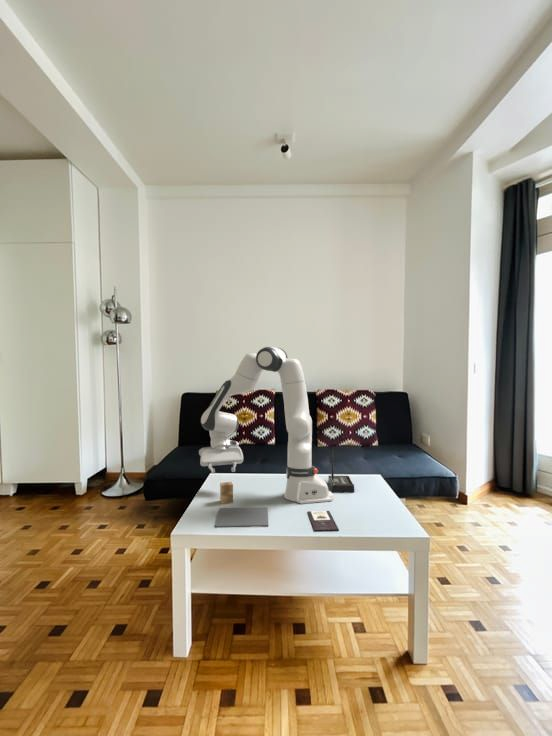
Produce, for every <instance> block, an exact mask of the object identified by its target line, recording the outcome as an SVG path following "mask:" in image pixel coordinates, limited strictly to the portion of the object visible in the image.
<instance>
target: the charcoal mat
mask: <svg viewBox="0 0 552 736" xmlns="http://www.w3.org/2000/svg"><path fill="white" fill-rule="evenodd" d="M251 526H261V527H269V512H268V507H267V506H266V507H263V506H262V507H260V506H259V507H220V508H219V510H218V513H217V517H216V522H215V524H214V528H250V527H251Z"/></svg>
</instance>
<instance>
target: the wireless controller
mask: <svg viewBox="0 0 552 736" xmlns="http://www.w3.org/2000/svg"><path fill="white" fill-rule="evenodd" d="M330 467H331V471H330V474H331V475H328V476H327V477H328V479H327V480H328V481H327V482H328V484H329V487H331V488H330V489H331V490H332V491H331V493H344V492H354V493H355V484H354V483H353V481H352V480H351V478H350V476H349V475H334V473H335V472H334V468H335V467H334V448H331V466H330Z"/></svg>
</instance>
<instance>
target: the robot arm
mask: <svg viewBox="0 0 552 736" xmlns="http://www.w3.org/2000/svg"><path fill="white" fill-rule="evenodd" d="M263 371H268V372H273V373H276V372H277V374H278V375H279V379H280V383H281V392H282V398H283V404H284V405H283V406H284V417H285V419H284V420H285V426H286V432H287V434H288V438H287V439H288V441H287V465H286V475H285V476H286V484H285V485H286V486H285V491H284V495H283V497H284V498H285V499H286V500H288V501H291V502H296V503H298V504H301V505H302V504H312V503H313V504H315V503H325V502H332V501H333V500H334V494H333V492H332V491H330V490H329V487H328V483H327V482H326V481H325V480H324V479H323V478H322V477H321V476H319V475H318V473H319V469H318V468H316V467H315V466H314V465H313V463H312V445H313V443H312V442H313V438H312V437H313V420H312V417H311V415H310V409H309V407H310V406H309V398H308V392H307V385H306V379H305V375H304V374H305V373H304V370H303V366H302V364H301V362H300V361H299V360H298V359H297V358H292V357H291V358H290V357H289V358H288V355H287V352H286V351H285V350H284V349H282V348H280V347H276V346H264V347H262V348H260V350H258V352H257V353H255V352H248V353H245V355H244V356H243V358H242V360H241V361H240V363H239V365H238V367H237V369H236V371H235V373H234V375H233V376H232V377H231V378H230V379H228V380H225V381H224V382H223V384H222V385H221V386H220V388H219V390H218V391H217V392H216V394H215V396H214V398H213V399H212V401H210V402H211V403H210V404H209V406H208V407H207V408H206V409H205V410H204V411H203V413H202V414H201V417H200V425H201V427H202V428H203V429H204V430H205V431H208V432H209V437H210V446H207V447H202V448H200V449H199V450H198V455H199V456H200V460H199V461H200V466H201V467H208V469H209V470H210V471H211V473H210V474H215V473H216V469H215V468H213V467H214V466H223V465H224V466H225V465H232V466H231V469H230V470H231V472H232V473H235V472H236V467H237V465H239V464H242V463H243V462H244V453H243V450H242V449H241V447H240V446H239V445H240V444H239V442H238V441H236V440H231V439H229V437H230V436H231V435H233V434H234V433H235V432H236V431H237V430H238V429H239V423H240V422H239V419H238V416H237V415H236V414H234V413H229V412H224V411H220V410H221V408H222V407H223V405H224V403H226V400H227V399H228V398H230V397H231V396H235V395H241V394H243V395H244V394H246V393H247V394H248V393H250V392H252V390H253V389H254V388H256V385H257V382H258V380H259V378H260V376H261V373H262V372H263Z"/></svg>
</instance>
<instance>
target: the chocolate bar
mask: <svg viewBox="0 0 552 736" xmlns="http://www.w3.org/2000/svg"><path fill="white" fill-rule="evenodd" d="M307 515H308V518H309V520H310V523H311V526H312V529H313V531H314V532H316V533H317V532H318V533H319V532H320V533H321V532H339V530H340V528H339V527H338V525H337V523H336V521H335V519H334V517H333V515H332V513H331V512H330V510H321V511H320V510H316V511H314V510H313V511H307Z"/></svg>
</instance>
